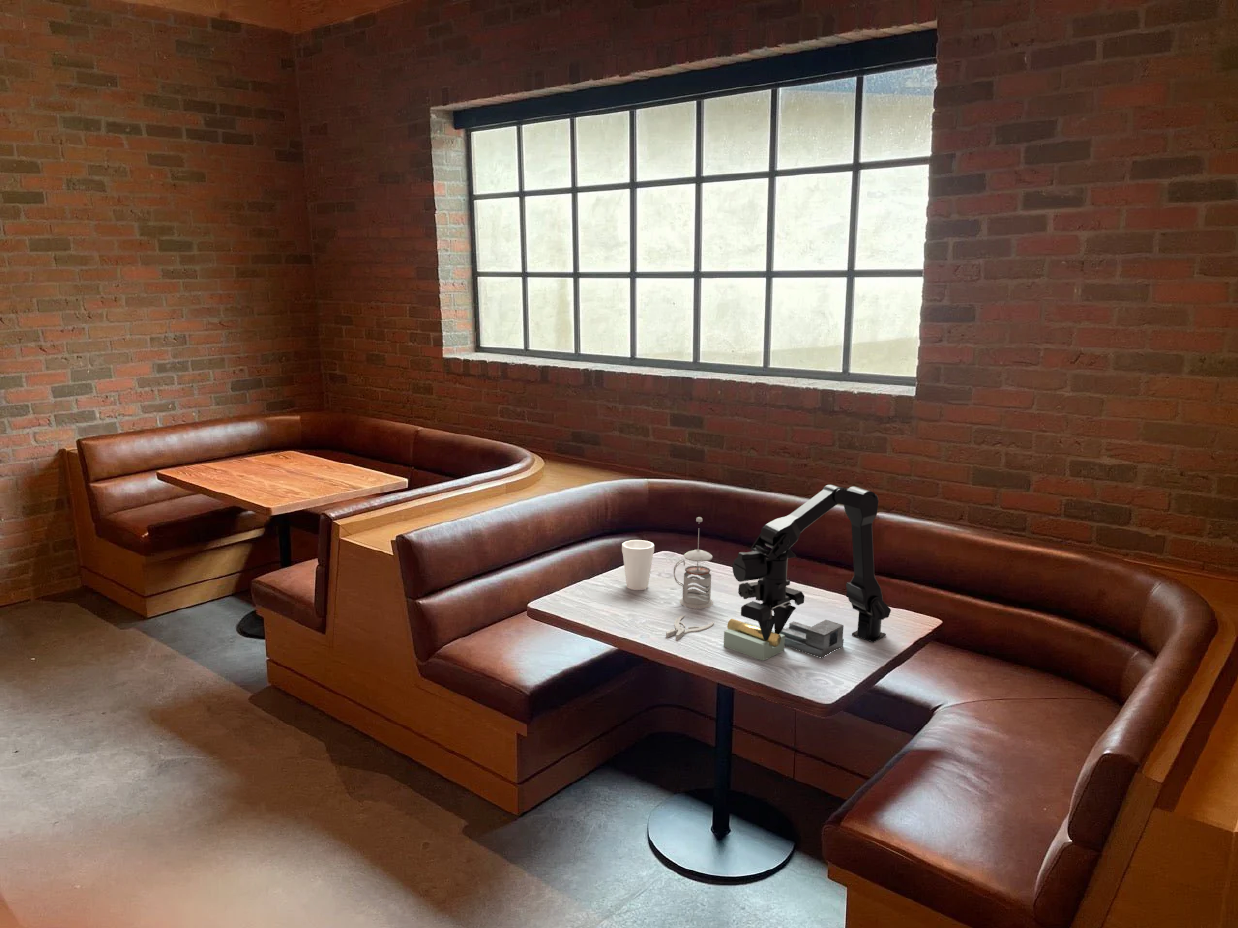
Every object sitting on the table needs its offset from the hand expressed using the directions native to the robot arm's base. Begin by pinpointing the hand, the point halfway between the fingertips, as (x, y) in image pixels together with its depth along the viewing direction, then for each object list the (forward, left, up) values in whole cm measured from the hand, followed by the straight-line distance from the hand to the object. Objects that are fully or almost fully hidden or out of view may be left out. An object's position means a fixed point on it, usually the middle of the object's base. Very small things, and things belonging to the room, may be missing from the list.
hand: (771, 637), depth 212 cm
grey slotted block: (-12, +3, -4) cm, 13 cm away
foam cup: (-12, -56, -5) cm, 57 cm away
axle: (0, -5, 0) cm, 5 cm away
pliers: (+3, -25, -5) cm, 26 cm away
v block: (0, -5, -4) cm, 7 cm away
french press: (-14, -36, -5) cm, 39 cm away
